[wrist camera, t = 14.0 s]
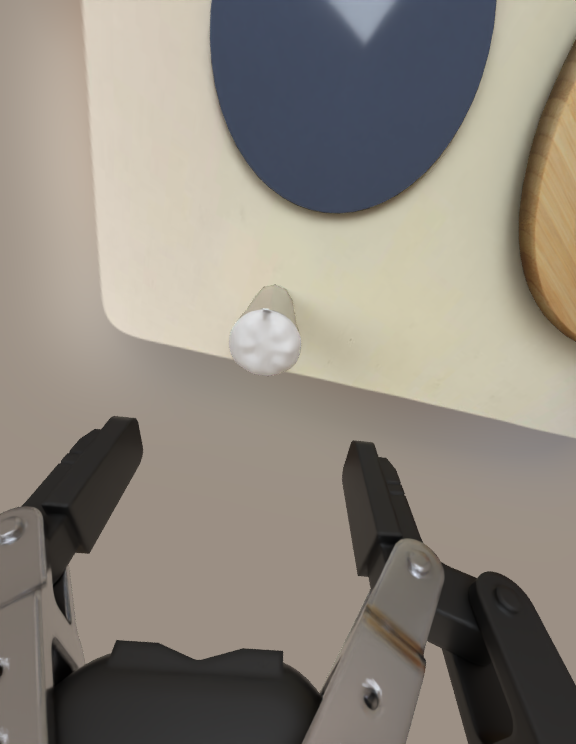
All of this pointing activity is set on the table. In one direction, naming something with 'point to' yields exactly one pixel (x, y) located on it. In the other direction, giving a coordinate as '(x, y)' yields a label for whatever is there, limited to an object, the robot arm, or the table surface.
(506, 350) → the table surface
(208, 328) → the table surface
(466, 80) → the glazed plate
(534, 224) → the wooden plate
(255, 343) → the milkshake
